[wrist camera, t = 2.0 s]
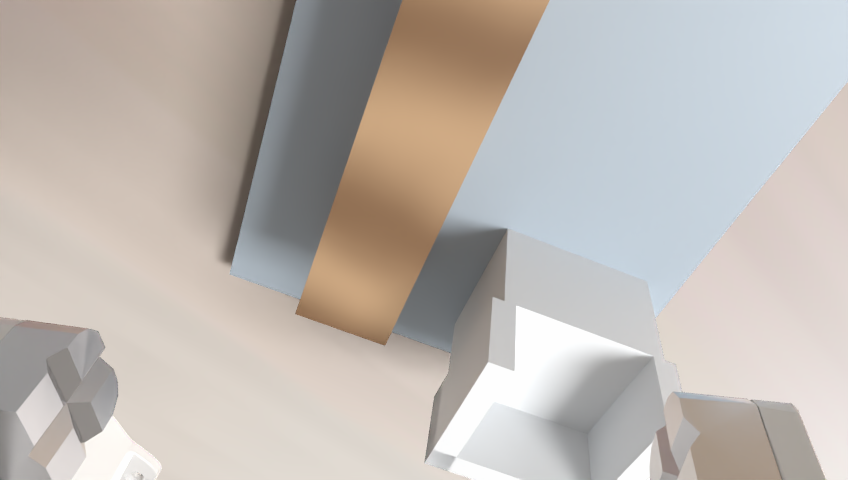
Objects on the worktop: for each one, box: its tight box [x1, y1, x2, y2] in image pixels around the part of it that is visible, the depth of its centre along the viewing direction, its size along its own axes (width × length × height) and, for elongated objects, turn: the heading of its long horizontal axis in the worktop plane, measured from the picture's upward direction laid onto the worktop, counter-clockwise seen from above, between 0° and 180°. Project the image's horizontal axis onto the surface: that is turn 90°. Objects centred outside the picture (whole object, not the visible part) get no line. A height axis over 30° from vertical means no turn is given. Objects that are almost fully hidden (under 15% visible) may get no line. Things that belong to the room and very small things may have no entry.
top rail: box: [295, 0, 550, 345], centre depth 23 cm, size 26×4×5 cm, turn 160°
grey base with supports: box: [230, 0, 848, 480], centre depth 22 cm, size 34×20×10 cm, turn 160°
